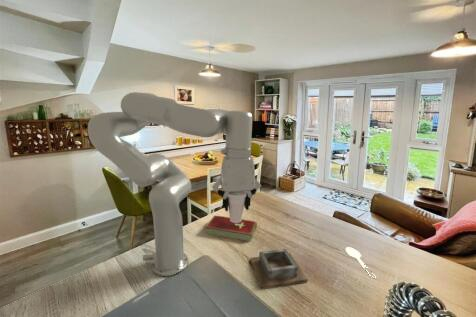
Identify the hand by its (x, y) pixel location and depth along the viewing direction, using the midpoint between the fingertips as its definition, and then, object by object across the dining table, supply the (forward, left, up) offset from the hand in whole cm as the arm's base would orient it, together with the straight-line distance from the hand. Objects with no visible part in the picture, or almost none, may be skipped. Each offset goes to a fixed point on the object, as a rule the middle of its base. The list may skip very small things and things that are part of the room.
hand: (236, 208), depth 74 cm
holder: (+15, 0, -25) cm, 29 cm away
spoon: (+48, -1, -25) cm, 55 cm away
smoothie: (0, 0, -4) cm, 4 cm away
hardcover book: (+4, +28, -26) cm, 39 cm away
